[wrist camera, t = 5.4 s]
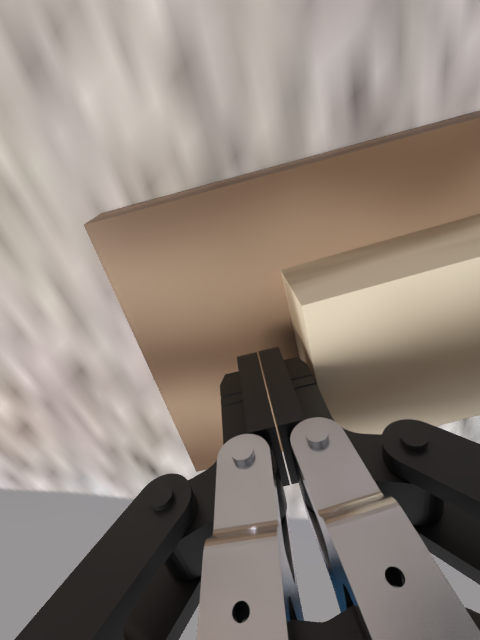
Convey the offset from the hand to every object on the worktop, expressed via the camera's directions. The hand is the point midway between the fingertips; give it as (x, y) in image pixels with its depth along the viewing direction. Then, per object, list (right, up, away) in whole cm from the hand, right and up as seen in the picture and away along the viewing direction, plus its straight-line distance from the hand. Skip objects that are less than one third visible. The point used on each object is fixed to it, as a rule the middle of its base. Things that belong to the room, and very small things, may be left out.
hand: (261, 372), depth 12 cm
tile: (+5, +2, +1) cm, 6 cm away
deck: (+3, +3, +3) cm, 5 cm away
